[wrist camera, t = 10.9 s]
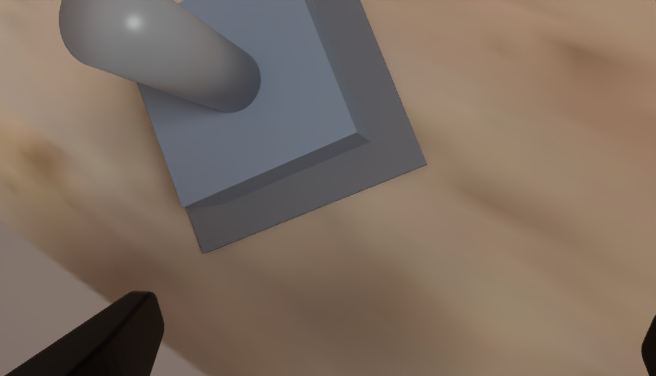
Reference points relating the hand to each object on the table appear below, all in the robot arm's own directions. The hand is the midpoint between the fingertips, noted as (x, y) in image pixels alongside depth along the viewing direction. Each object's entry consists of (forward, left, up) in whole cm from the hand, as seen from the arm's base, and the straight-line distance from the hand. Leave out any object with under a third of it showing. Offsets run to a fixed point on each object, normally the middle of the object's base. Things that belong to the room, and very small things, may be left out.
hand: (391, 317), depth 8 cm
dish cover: (+9, +4, -12) cm, 16 cm away
